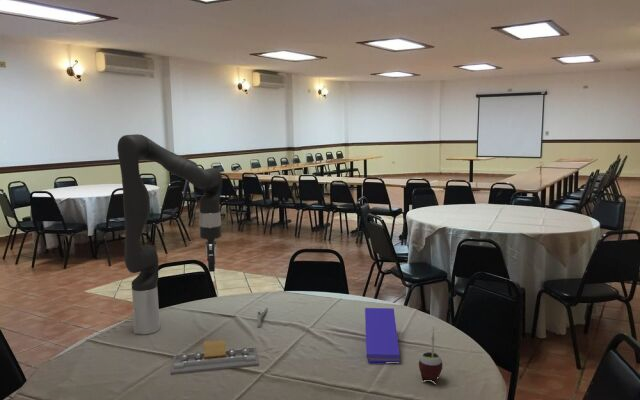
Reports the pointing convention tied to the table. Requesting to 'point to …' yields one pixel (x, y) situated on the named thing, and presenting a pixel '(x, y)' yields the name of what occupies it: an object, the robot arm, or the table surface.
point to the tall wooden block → (214, 349)
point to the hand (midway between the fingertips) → (211, 267)
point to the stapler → (381, 335)
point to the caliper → (261, 315)
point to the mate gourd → (430, 364)
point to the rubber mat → (214, 365)
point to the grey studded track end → (234, 358)
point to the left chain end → (197, 361)
